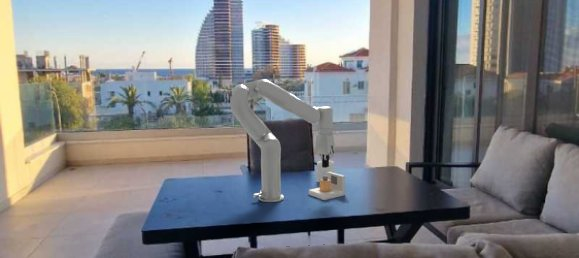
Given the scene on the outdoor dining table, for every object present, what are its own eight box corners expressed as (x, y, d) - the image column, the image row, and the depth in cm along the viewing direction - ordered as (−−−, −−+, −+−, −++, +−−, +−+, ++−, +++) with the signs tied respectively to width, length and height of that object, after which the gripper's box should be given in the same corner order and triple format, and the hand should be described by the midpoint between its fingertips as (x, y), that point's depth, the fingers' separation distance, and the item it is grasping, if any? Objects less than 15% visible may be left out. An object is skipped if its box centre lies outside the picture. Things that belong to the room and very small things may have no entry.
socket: (323, 200, 217) (323, 180, 216) (308, 194, 227) (308, 175, 226) (344, 195, 225) (345, 175, 224) (329, 189, 235) (329, 171, 234)
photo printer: (333, 180, 254) (333, 159, 253) (335, 182, 250) (335, 160, 248) (315, 181, 253) (315, 160, 251) (317, 183, 249) (317, 161, 247)
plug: (324, 196, 223) (324, 177, 221) (319, 195, 226) (319, 176, 225) (330, 195, 225) (330, 176, 224) (325, 193, 228) (325, 174, 227)
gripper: (310, 130, 225) (310, 165, 227) (329, 133, 213) (329, 171, 215) (321, 128, 229) (321, 163, 232) (340, 132, 217) (341, 168, 220)
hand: (325, 167), depth 224 cm, fingers closed
